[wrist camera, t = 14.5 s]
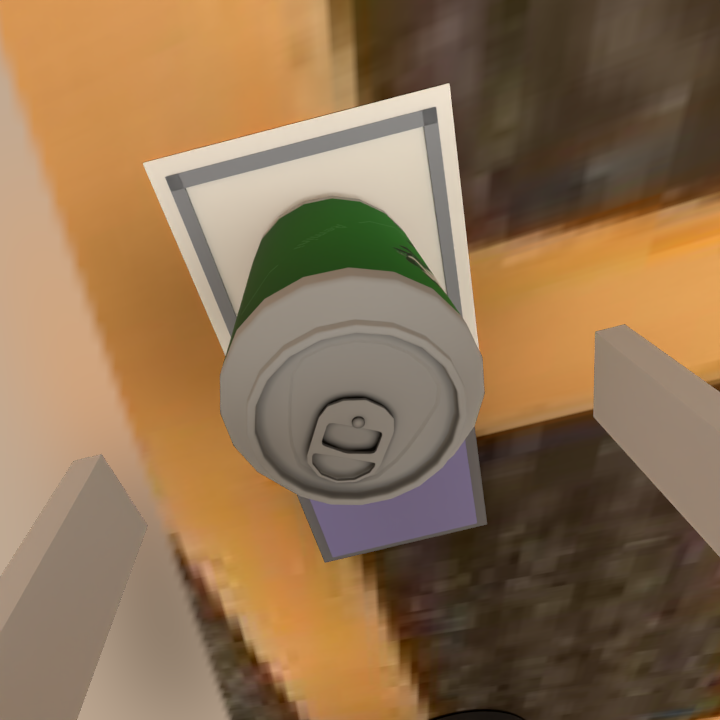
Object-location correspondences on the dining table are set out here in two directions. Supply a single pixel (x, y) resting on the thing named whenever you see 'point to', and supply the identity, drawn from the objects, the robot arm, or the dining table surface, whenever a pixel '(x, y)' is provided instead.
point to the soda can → (347, 359)
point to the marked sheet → (319, 192)
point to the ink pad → (404, 511)
